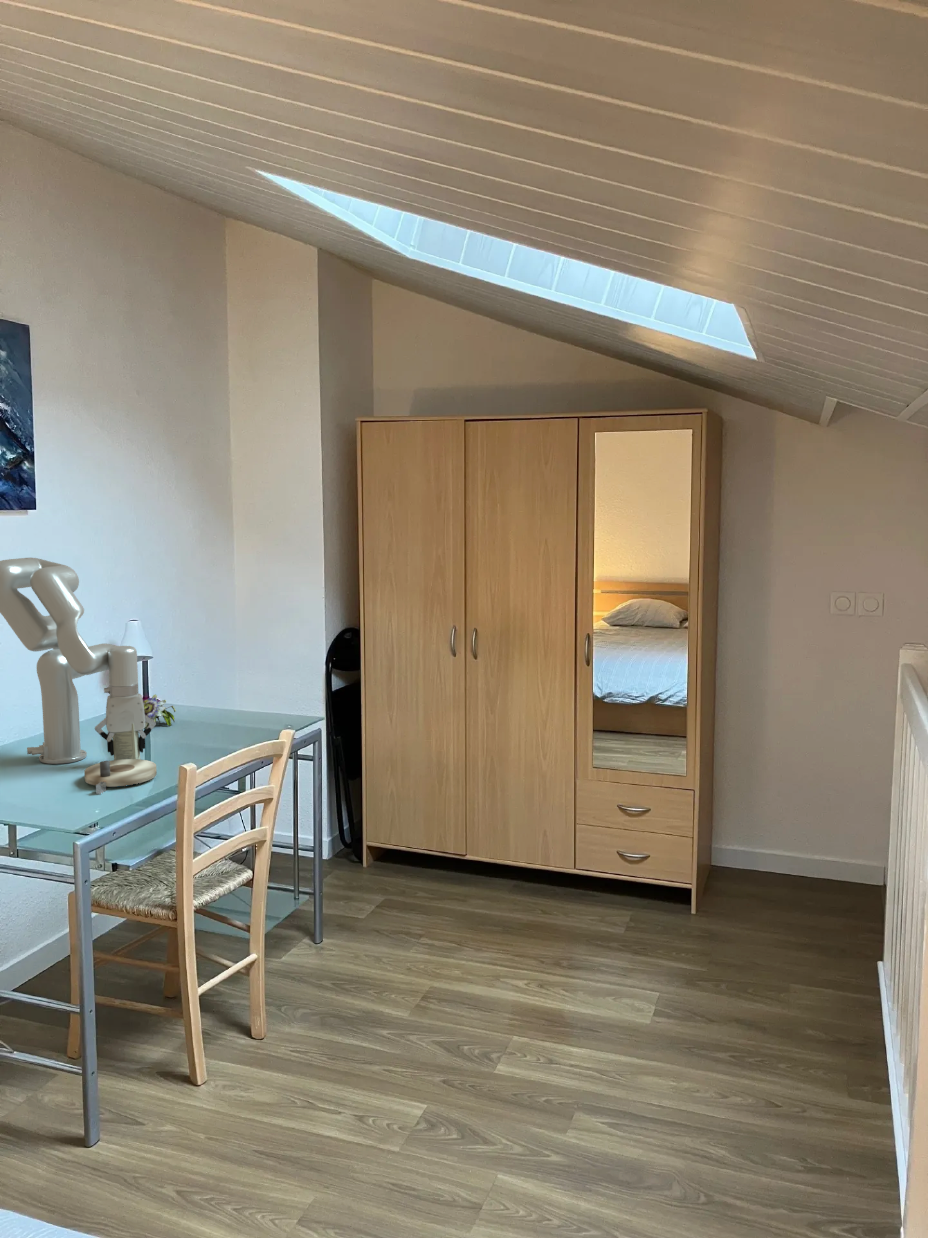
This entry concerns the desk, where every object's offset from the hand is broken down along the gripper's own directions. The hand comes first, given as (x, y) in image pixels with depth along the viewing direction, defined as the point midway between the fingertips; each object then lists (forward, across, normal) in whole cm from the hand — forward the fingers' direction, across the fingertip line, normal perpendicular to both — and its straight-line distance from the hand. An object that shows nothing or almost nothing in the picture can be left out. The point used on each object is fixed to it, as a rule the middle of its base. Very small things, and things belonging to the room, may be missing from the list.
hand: (126, 752), depth 275 cm
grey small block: (+3, -9, -25) cm, 27 cm away
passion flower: (+4, +13, +45) cm, 47 cm away
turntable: (+3, -3, -15) cm, 16 cm away
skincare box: (+4, 0, 0) cm, 4 cm away
